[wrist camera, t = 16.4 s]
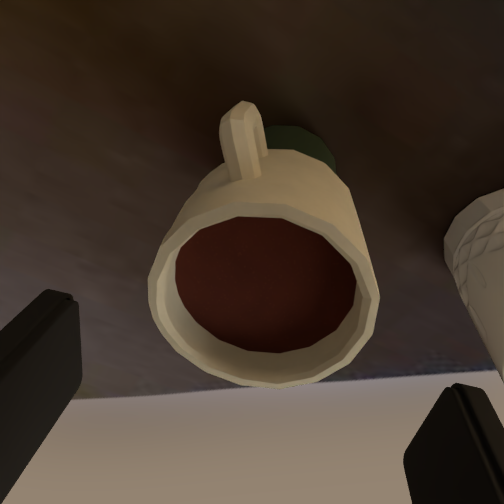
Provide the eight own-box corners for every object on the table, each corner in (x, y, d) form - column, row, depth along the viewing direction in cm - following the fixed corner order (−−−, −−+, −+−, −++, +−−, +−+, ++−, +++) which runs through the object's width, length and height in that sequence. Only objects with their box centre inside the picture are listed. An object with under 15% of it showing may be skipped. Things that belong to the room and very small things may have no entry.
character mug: (202, 92, 21) (82, 152, 10) (333, 63, 20) (368, 96, 8) (244, 260, 26) (197, 429, 15) (351, 247, 25) (389, 425, 13)
